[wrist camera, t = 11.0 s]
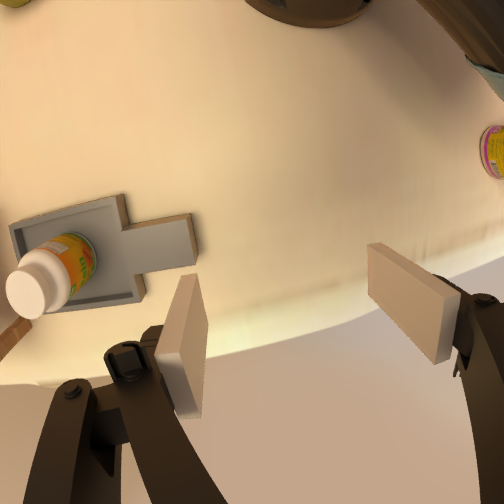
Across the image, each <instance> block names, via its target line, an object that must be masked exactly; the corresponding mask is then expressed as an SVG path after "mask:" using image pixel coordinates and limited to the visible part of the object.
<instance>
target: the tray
mask: <svg viewBox="0 0 504 504" xmlns="http://www.w3.org/2000/svg"><path fill="white" fill-rule="evenodd" d="M9 230H10V234H11V238H12V242H13V246H14V249H15V253H16V257H17V260H18V264H19V262H20V260H21V259H22V257H23V256H24V255H25V254H27V253H28V252H30V251H31V250H33V249H35V248H37V247H39V246H40V245H42V244H44V243H46V242H48V241H50V240H51V239H53V238H55V237H57V236H59V235H61V234H63V233H67V232H74V233H78V234H80V235H82V236H84V237H85V238H86V239H87V240H88V241H89V242H90V243H91V245H92V246H93V248H94V251H95V254H96V260H97V264H96V269H95V272H94V274H93V276H92V277H91V278H90V280H89V281H88V282H87V283H86V284H84V285H83V286H82V287H81V288H80V289H79V290H78V291H77V292H76V293H75V294H74V295H73V296H72V297H71V298H70V299H69V300H68V301H67V302H66V303H65V304H64V305H63V306H62V307H61V308H60V309H58V310H56V311H54V312H45V313H44V314H52V313H61V312H69V311H78V310H86V309H94V308H102V307H109V306H117V305H124V304H132V303H139V302H142V300H143V298H144V296H145V294H146V290H145V286H144V282H143V279H142V275H141V274H143V273H149V272H155V271H161V270H167V269H173V268H180V267H186V266H192V265H196V261H197V258H198V251H197V246H196V241H195V236H194V230H193V225H192V220H191V215H190V213H188V214H183V215H177V216H172V217H167V218H161V219H156V220H151V221H146V222H141V223H136V224H131V225H129V221H128V216H127V211H126V206H125V202H124V196H123V194H119V195H115V196H111V197H107V198H103V199H98V200H94V201H90V202H86V203H82V204H79V205H75V206H71V207H67V208H63V209H60V210H56V211H53V212H49V213H45V214H42V215H38V216H35V217H32V218H28V219H25V220H22V221H19V222H16V223H14V224H11V225H9ZM42 315H43V314H42Z"/></svg>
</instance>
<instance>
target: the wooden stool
mask: <svg viewBox="0 0 504 504" xmlns="http://www.w3.org/2000/svg"><path fill="white" fill-rule="evenodd" d="M31 328H32V325H31V323H30V320H29V319H26V318H24V317H19V318H18V319H17V320H16V321H15V322H14V323H13V324H12V325H11V326H9V327H8V328H7V329H6V330H5V331H4V332H3V333H2V334H1V335H0V361H1V360H2V359H3V358H4V357H5V356H6V355H7V354H8V353H9V351H10V350H11V349H12V348H13V347H14V346H15V345H16V344H17V343H18V342H19V341H20V340H21V339H22V337H23V336H24V335H25V334H26V333H27V332H28V331H29V330H30V329H31Z"/></svg>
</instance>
